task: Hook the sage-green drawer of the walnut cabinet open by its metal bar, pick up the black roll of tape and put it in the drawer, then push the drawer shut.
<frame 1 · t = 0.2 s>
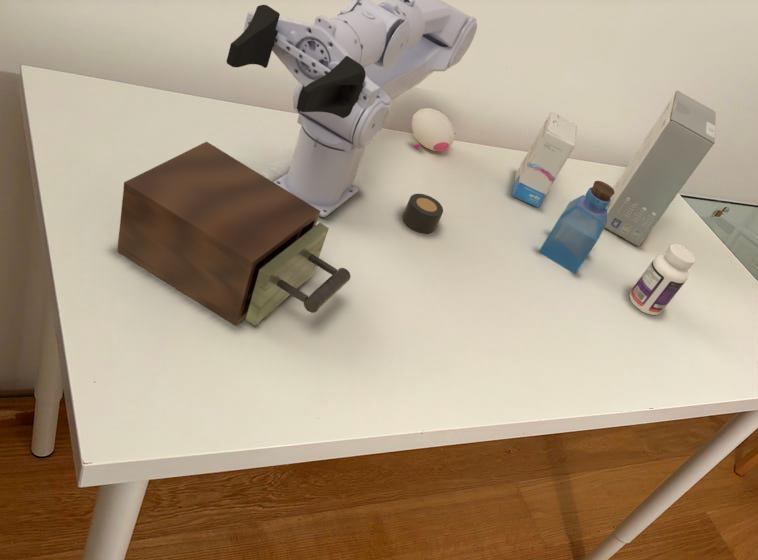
hand: (267, 77, 65), 21 cm above the table, tool horizontal, fingers open, 7 cm apart
ink box: (526, 191, 117), on the table
stress ball: (428, 146, 115), on the table
drawer: (258, 253, 75), point 4 cm above the table, slide at 0.5 cm
cabinet: (213, 261, 78), on the table
hard drive box: (623, 218, 123), on the table
pill bottle: (643, 304, 106), on the table
perfume bottle: (561, 255, 107), on the table
tape: (418, 222, 98), on the table
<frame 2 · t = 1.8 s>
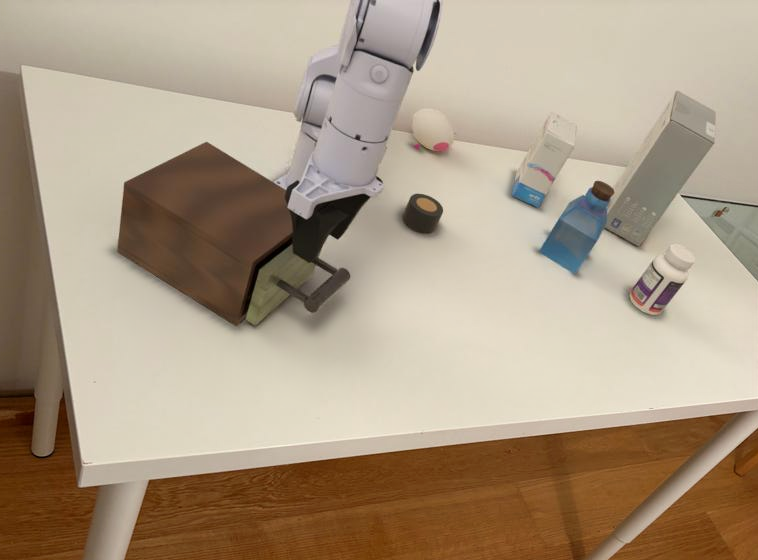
hand: (317, 244, 71), 9 cm above the table, tool pointing down, fingers open, 5 cm apart
nothing on the table moved.
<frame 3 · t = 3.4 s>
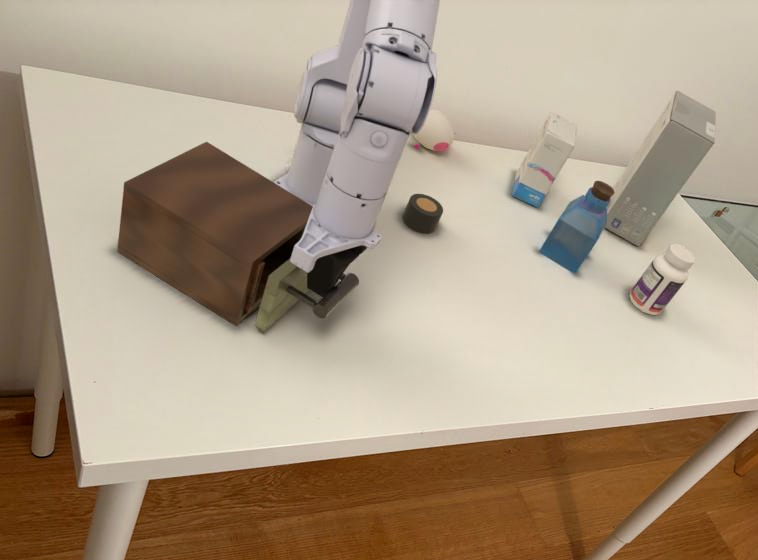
hand: (318, 289, 74), 4 cm above the table, tool pointing down, fingers closed, pressing on drawer
drawer: (266, 259, 75), point 4 cm above the table, slide at 1.6 cm, touching gripper
everything else where it was.
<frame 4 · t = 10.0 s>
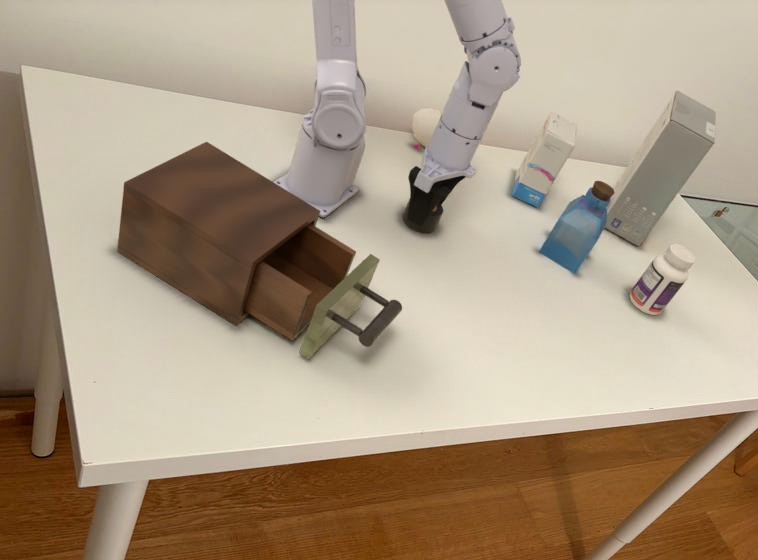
hand: (422, 214, 97), 1 cm above the table, tool pointing down, fingers closed on tape, 5 cm apart
drawer: (310, 286, 75), point 4 cm above the table, slide at 6.9 cm
tape: (418, 222, 98), on the table, touching gripper
everything else where it was.
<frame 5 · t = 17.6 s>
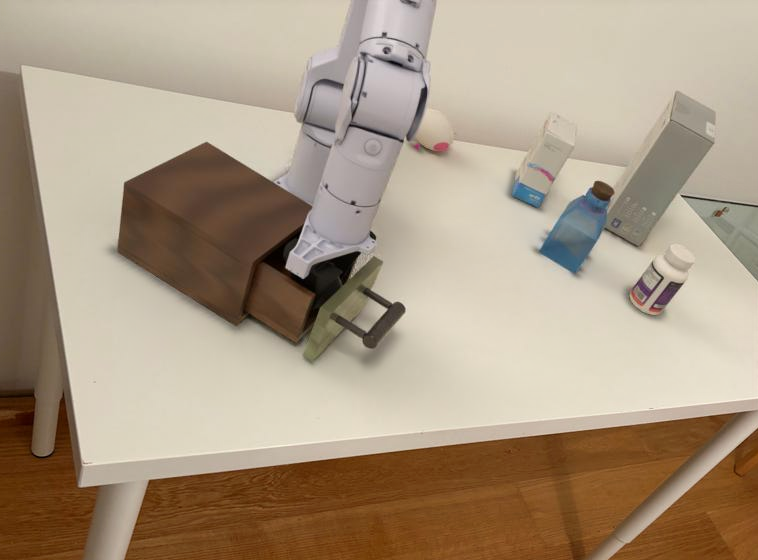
hand: (314, 294, 75), 4 cm above the table, tool pointing down, fingers closed on tape, 5 cm apart
drawer: (313, 288, 74), point 4 cm above the table, slide at 7.4 cm, touching gripper
tape: (322, 298, 75), point 4 cm above the table, tilted 42°, touching gripper
everything else where it was.
when the fingers open (5 cm above the table, at t = 21.3 s): tape stays where it is, resting on drawer.
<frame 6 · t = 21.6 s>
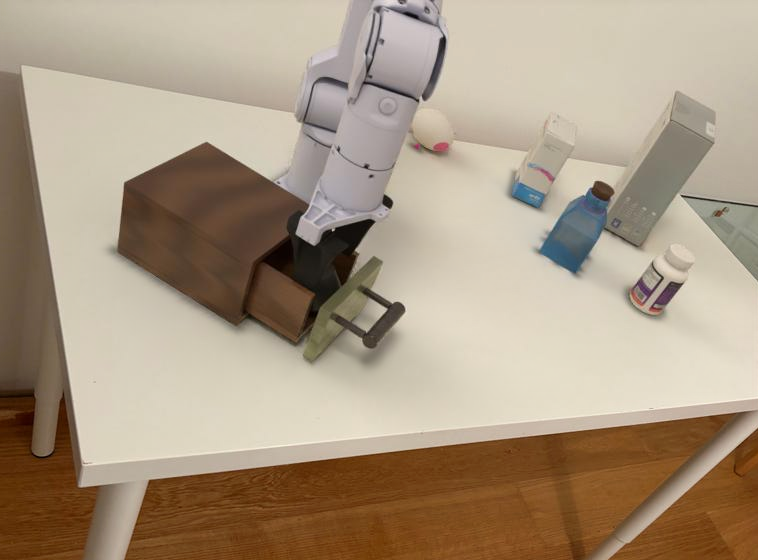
hand: (323, 266, 72), 7 cm above the table, tool pointing down, fingers open, 7 cm apart
drawer: (313, 288, 74), point 4 cm above the table, slide at 7.4 cm, touching gripper, tape
tape: (321, 300, 75), point 3 cm above the table, tilted 38°, touching drawer
everything else where it was.
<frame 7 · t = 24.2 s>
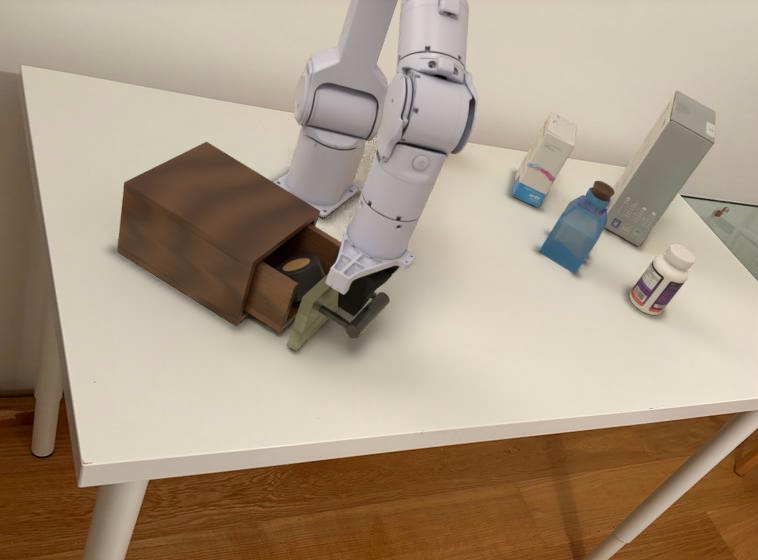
hand: (348, 308, 74), 4 cm above the table, tool pointing down, fingers closed, pressing on drawer
drawer: (297, 278, 75), point 4 cm above the table, slide at 5.4 cm, touching gripper, tape
tape: (305, 290, 75), point 3 cm above the table, tilted 38°, touching drawer
everything else where it was.
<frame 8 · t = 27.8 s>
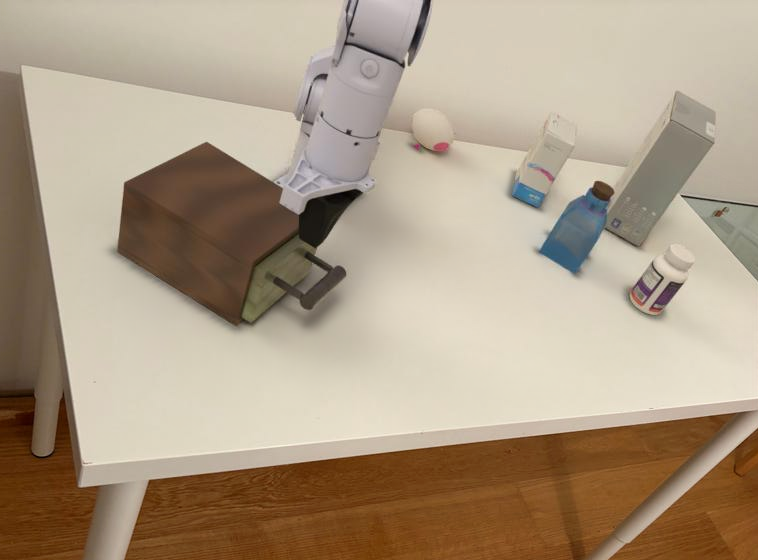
hand: (310, 240, 71), 9 cm above the table, tool pointing down, fingers closed
drawer: (254, 251, 75), point 4 cm above the table, slide at 0.0 cm, touching cabinet, tape
tape: (262, 263, 75), point 3 cm above the table, tilted 37°, touching drawer
everything else where it was.
at the end: drawer pulled out 7.4 cm at the most during the clip, back to where it started at the end; tape inside the target area in the cabinet (4.9 cm from its centre), point 3.4 cm above the cabinet's base; drawer slide at 0.0 cm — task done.
